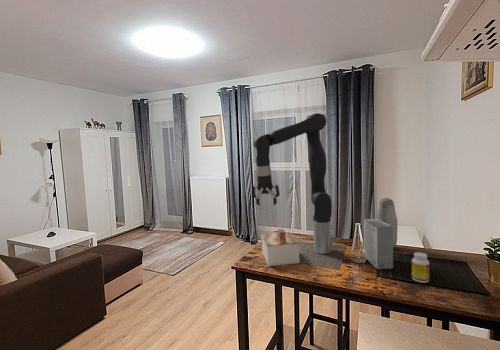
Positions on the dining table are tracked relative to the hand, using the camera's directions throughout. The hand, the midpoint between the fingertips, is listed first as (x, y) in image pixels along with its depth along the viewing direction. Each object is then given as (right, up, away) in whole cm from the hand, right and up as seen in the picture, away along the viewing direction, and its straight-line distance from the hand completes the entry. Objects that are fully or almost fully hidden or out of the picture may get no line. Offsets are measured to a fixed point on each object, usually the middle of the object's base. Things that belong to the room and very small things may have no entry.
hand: (266, 205), depth 138 cm
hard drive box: (+54, -27, -10) cm, 61 cm away
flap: (+7, -18, +1) cm, 19 cm away
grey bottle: (+67, -25, +7) cm, 72 cm away
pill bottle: (+63, -28, -28) cm, 74 cm away
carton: (+7, -28, +2) cm, 29 cm away
